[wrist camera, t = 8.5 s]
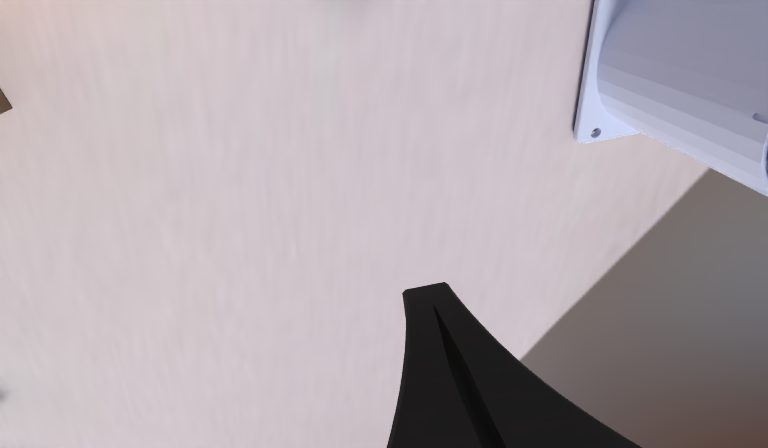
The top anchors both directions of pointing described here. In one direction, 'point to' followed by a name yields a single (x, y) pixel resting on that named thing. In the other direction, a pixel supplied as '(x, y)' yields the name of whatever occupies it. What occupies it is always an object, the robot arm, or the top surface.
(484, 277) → the top surface
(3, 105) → the shelf
